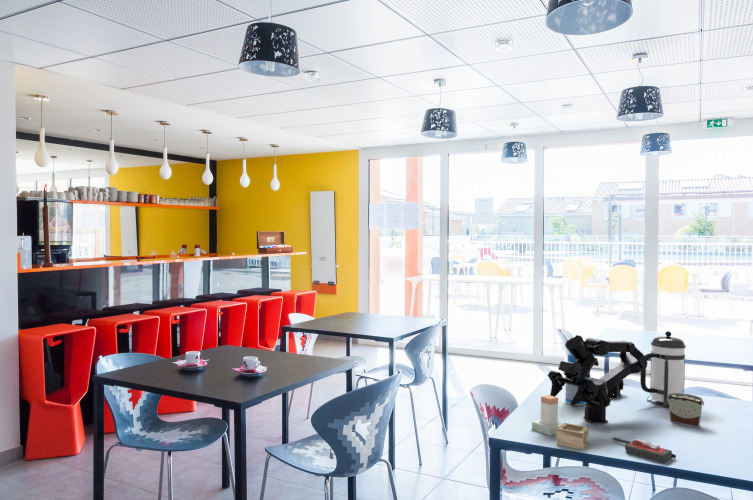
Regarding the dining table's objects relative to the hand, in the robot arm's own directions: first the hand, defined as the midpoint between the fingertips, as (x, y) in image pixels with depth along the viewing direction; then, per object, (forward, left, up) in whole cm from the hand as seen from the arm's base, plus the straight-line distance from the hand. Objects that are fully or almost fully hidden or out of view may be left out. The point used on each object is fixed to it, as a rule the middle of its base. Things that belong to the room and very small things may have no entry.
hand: (560, 401), depth 200 cm
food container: (-51, -1, -9) cm, 51 cm away
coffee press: (-60, -25, -9) cm, 65 cm away
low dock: (+5, +2, -9) cm, 11 cm away
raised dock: (+4, +15, -9) cm, 18 cm away
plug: (+5, +2, -9) cm, 10 cm away
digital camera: (-46, -40, -10) cm, 62 cm away
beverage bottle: (-23, -30, -9) cm, 39 cm away
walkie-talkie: (-13, +25, -10) cm, 30 cm away
